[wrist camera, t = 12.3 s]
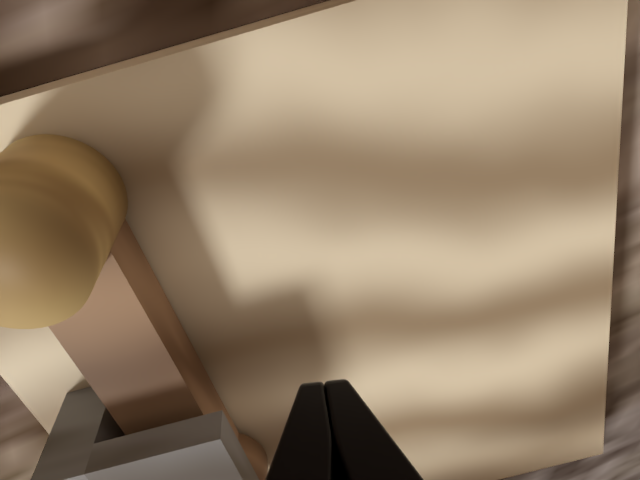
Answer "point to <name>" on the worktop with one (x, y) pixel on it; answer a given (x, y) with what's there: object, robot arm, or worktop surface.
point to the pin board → (358, 230)
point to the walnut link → (96, 287)
